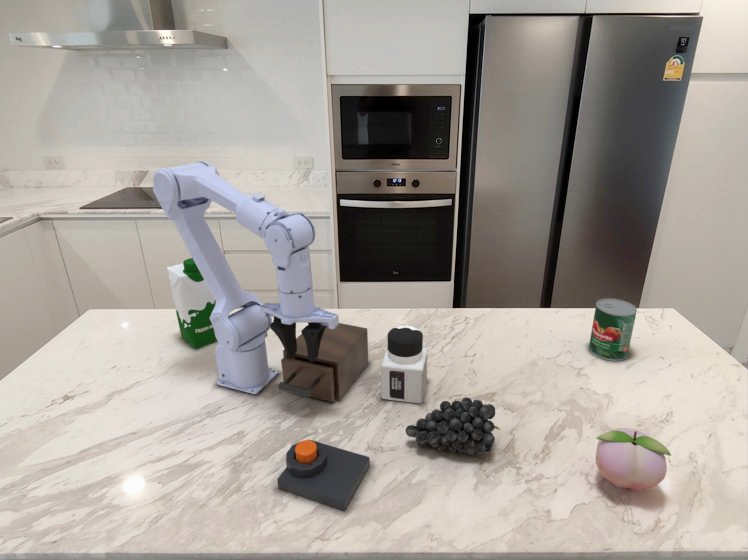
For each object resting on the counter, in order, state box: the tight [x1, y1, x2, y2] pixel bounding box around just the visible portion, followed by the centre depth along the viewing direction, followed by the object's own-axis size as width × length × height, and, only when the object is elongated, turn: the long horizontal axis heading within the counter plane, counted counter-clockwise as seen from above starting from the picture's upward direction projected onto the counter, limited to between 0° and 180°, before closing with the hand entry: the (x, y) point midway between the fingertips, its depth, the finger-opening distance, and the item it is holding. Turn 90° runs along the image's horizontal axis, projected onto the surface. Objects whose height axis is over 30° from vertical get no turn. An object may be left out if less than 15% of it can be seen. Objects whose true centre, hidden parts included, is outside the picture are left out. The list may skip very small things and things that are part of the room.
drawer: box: [277, 356, 336, 403], centre depth 92 cm, size 17×10×7 cm, turn 158°
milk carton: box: [166, 257, 218, 350], centre depth 109 cm, size 9×9×20 cm
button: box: [295, 439, 317, 464], centre depth 73 cm, size 3×3×2 cm
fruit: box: [405, 397, 501, 456], centre depth 78 cm, size 9×8×15 cm
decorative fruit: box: [595, 427, 672, 491], centre depth 70 cm, size 9×8×10 cm
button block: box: [276, 439, 371, 512], centre depth 73 cm, size 12×9×4 cm
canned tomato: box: [588, 297, 638, 362], centre depth 103 cm, size 8×8×11 cm
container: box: [380, 325, 428, 404], centre depth 91 cm, size 8×8×13 cm
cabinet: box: [282, 322, 369, 402], centre depth 96 cm, size 14×12×9 cm
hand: (302, 356), depth 86 cm, fingers open, 4 cm apart
